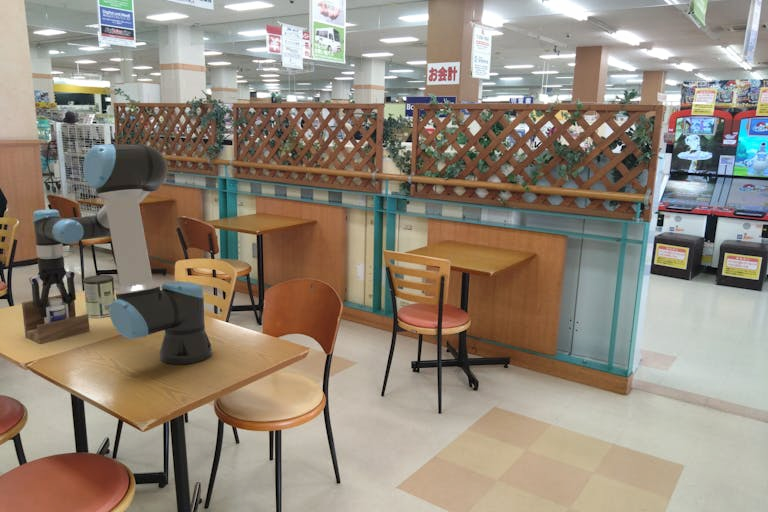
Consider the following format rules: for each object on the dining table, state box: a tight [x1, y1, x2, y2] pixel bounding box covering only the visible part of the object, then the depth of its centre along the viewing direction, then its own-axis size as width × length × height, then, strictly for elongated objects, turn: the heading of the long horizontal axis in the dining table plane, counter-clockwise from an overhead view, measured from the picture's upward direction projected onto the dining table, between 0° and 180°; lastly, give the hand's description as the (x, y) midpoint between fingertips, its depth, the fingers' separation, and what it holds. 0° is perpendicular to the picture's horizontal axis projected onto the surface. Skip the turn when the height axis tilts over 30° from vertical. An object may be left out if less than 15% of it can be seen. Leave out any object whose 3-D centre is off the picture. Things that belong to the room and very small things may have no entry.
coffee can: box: [82, 274, 116, 319], centre depth 215 cm, size 10×10×14 cm
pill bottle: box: [48, 298, 66, 322], centre depth 192 cm, size 5×5×9 cm
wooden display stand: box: [21, 294, 91, 345], centre depth 192 cm, size 11×16×12 cm, turn 144°
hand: (57, 323), depth 193 cm, fingers closed on pill bottle, 5 cm apart
